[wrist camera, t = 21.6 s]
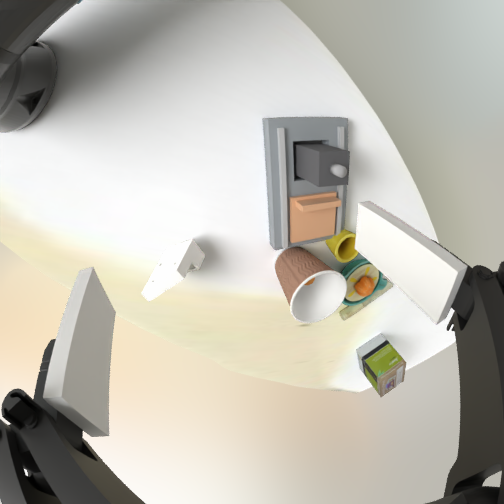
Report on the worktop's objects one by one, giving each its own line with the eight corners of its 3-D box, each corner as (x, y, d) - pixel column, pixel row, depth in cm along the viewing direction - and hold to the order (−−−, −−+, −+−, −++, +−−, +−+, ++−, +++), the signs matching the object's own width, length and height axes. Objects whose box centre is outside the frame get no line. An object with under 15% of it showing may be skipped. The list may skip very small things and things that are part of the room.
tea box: (382, 353, 84) (404, 381, 72) (359, 368, 84) (380, 398, 71) (381, 331, 76) (407, 363, 63) (355, 348, 76) (379, 383, 63)
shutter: (289, 197, 43) (298, 203, 40) (334, 191, 44) (344, 197, 41) (290, 241, 47) (298, 250, 44) (331, 232, 48) (341, 240, 45)
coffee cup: (288, 292, 55) (314, 331, 45) (254, 268, 50) (277, 308, 40) (324, 256, 54) (356, 289, 43) (293, 227, 48) (326, 259, 38)
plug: (291, 143, 41) (326, 154, 32) (318, 142, 42) (357, 153, 33) (292, 172, 43) (325, 191, 34) (318, 170, 44) (355, 188, 35)
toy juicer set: (273, 284, 54) (288, 309, 47) (336, 216, 50) (360, 233, 44) (342, 329, 68) (356, 349, 62) (389, 280, 65) (407, 297, 58)
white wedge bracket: (144, 263, 44) (141, 293, 36) (191, 231, 44) (196, 256, 36) (157, 277, 46) (156, 309, 38) (203, 247, 46) (210, 274, 38)
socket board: (262, 118, 38) (269, 118, 35) (339, 117, 41) (350, 118, 38) (270, 243, 49) (276, 252, 46) (336, 230, 52) (345, 237, 49)
